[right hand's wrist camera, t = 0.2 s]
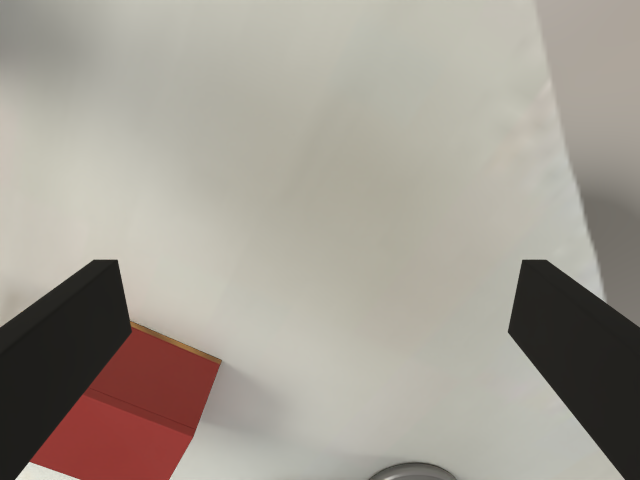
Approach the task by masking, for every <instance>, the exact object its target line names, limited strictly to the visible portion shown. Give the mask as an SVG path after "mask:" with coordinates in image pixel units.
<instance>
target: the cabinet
mask: <svg viewBox="0 0 640 480" xmlns="http://www.w3.org/2000/svg"><path fill="white" fill-rule="evenodd" d="M130 324H131V329H132V333H131V334H130V336H129V337H128V338H127V339H126V341H125V342H124V343H123V344H122V346H121V347H120V348H119V349H118V351H117V352H116V353H115V354H114V356H113V357H112V358H111V359H110V361H109V362H108V363H107V365H106V366H105V367H104V368H103V370H102V371H101V372H100V373H99V375H98V376H97V377H96V378H95V380H94V381H93V382H92V383H91V385H90V386H89V387H88V388H87V390H86V391H85V392H84V393H83V395H82V396H81V397H80V398H79V400H78V401H77V402H76V404H75V405H74V406H73V407H72V409H71V410H70V411H69V412H68V414H67V415H66V416H65V417H64V419H63V420H62V421H61V422H60V424H59V425H58V426H57V427H56V429H55V430H54V431H53V432H52V434H51V435H50V436H49V437H48V439H47V440H46V441H45V443H44V444H43V445H42V446H41V448H40V449H39V450H38V451H37V453H36V454H35V455H34V456H33V458H32V459H31V460H30V461H29V462H32V463H34V464H37V465H40V466H43V467H46V468H49V469H52V470H55V471H57V472H60V473H63V474H66V475H69V476H72V477H75V478H77V479H80V480H169V479H170V477H171V475H172V474H173V472H174V470H175V468H176V467H177V465H178V463H179V461H180V459H181V458H182V456H183V454H184V452H185V451H186V449H187V447H188V445H189V444H190V442H191V440H192V438H193V436H194V433H195V430H196V428H197V425H198V423H199V420H200V417H201V415H202V412H203V409H204V407H205V404H206V401H207V399H208V396H209V393H210V390H211V388H212V385H213V382H214V380H215V377H216V374H217V372H218V369H219V366H220V364H221V361H222V360H220V359H218V358H215V357H213V356H211V355H208V354H206V353H204V352H201V351H199V350H197V349H194V348H192V347H190V346H187V345H185V344H183V343H180V342H178V341H176V340H173V339H171V338H169V337H166V336H164V335H162V334H159V333H157V332H155V331H152V330H150V329H148V328H145V327H143V326H141V325H138V324H136V323H134V322H131V321H130Z"/></svg>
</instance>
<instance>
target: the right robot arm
mask: <svg viewBox="0 0 640 480" xmlns="http://www.w3.org/2000/svg"><path fill="white" fill-rule="evenodd" d="M131 333H132V329H131V324H130V319H129V314H128V309H127V304H126V299H125V294H124V289H123V284H122V279H121V274H120V269H119V264H118V260H93V261H92V262H90V263H89V264H87V265H86V266H85V267H83V268H82V269H80V270H79V271H78V272H76V273H75V274H74V275H72V276H71V277H69V278H68V279H67V280H65V281H64V282H63V283H61V284H60V285H58V286H57V287H56V288H54V289H53V290H51V291H50V292H49V293H47V294H46V295H45V296H43V297H42V298H40V299H39V300H38V301H36V302H35V303H34V304H32V305H31V306H29V307H28V308H27V309H25V310H24V311H23V312H21V313H20V314H18V315H17V316H16V317H14V318H13V319H11V320H10V321H9V322H7V323H6V324H5V325H3V326H2V327H0V480H15V479H16V478H17V477H18V475H19V474H20V473H21V471H22V470H23V469H24V468H25V466H26V465H27V464H28V463H29V461H30V460H31V459H32V458H33V456H34V455H35V454H36V453H37V451H38V450H39V449H40V448H41V446H42V445H43V444H44V443H45V441H46V440H47V439H48V437H49V436H50V435H51V434H52V432H53V431H54V430H55V429H56V427H57V426H58V425H59V424H60V422H61V421H62V420H63V419H64V417H65V416H66V415H67V414H68V412H69V411H70V410H71V409H72V407H73V406H74V405H75V404H76V402H77V401H78V400H79V398H80V397H81V396H82V395H83V393H84V392H85V391H86V390H87V388H88V387H89V386H90V385H91V383H92V382H93V381H94V380H95V378H96V377H97V376H98V375H99V373H100V372H101V371H102V370H103V368H104V367H105V366H106V365H107V363H108V362H109V361H110V359H111V358H112V357H113V356H114V354H115V353H116V352H117V351H118V349H119V348H120V347H121V346H122V344H123V343H124V342H125V341H126V339H127V338H128V337H129V336H130V334H131ZM508 333H509V334H510V336H511V337H512V338H513V339H514V341H515V342H516V343H517V344H518V346H519V347H520V348H521V349H522V351H523V352H524V353H525V354H526V356H527V357H528V358H529V359H530V361H531V362H532V363H533V365H534V366H535V367H536V368H537V370H538V371H539V372H540V373H541V375H542V376H543V377H544V378H545V380H546V381H547V382H548V383H549V385H550V386H551V387H552V388H553V390H554V391H555V392H556V393H557V395H558V396H559V397H560V398H561V400H562V401H563V402H564V404H565V405H566V406H567V407H568V409H569V410H570V411H571V412H572V414H573V415H574V416H575V417H576V419H577V420H578V421H579V422H580V424H581V425H582V426H583V427H584V429H585V430H586V431H587V432H588V434H589V435H590V436H591V437H592V439H593V440H594V441H595V443H596V444H597V445H598V446H599V448H600V449H601V450H602V451H603V453H604V454H605V455H606V456H607V458H608V459H609V460H610V461H611V463H612V464H613V465H614V466H615V468H616V469H617V470H618V471H619V473H620V474H621V475H622V477H623V478H624V479H625V480H640V327H638V326H637V325H635V324H634V323H633V322H631V321H630V320H629V319H627V318H626V317H624V316H623V315H622V314H620V313H619V312H617V311H616V310H615V309H613V308H612V307H611V306H609V305H608V304H606V303H605V302H604V301H602V300H601V299H600V298H598V297H597V296H595V295H594V294H593V293H591V292H590V291H589V290H587V289H586V288H584V287H583V286H582V285H580V284H579V283H577V282H576V281H575V280H573V279H572V278H571V277H569V276H568V275H566V274H565V273H564V272H562V271H561V270H560V269H558V268H557V267H555V266H554V265H553V264H551V263H550V262H548V261H547V260H522V264H521V269H520V274H519V279H518V284H517V289H516V294H515V299H514V304H513V309H512V314H511V319H510V324H509V329H508ZM370 480H456V479H455V478H454V477H453V476H452V475H451V474H450V473H448V472H447V471H445V470H443V469H441V468H438V467H436V466H432V465H427V464H418V463H411V464H402V465H397V466H393V467H390V468H388V469H385V470H383V471H381V472H379V473H378V474H376V475H374V476H373V477H372V478H371V479H370Z"/></svg>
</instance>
